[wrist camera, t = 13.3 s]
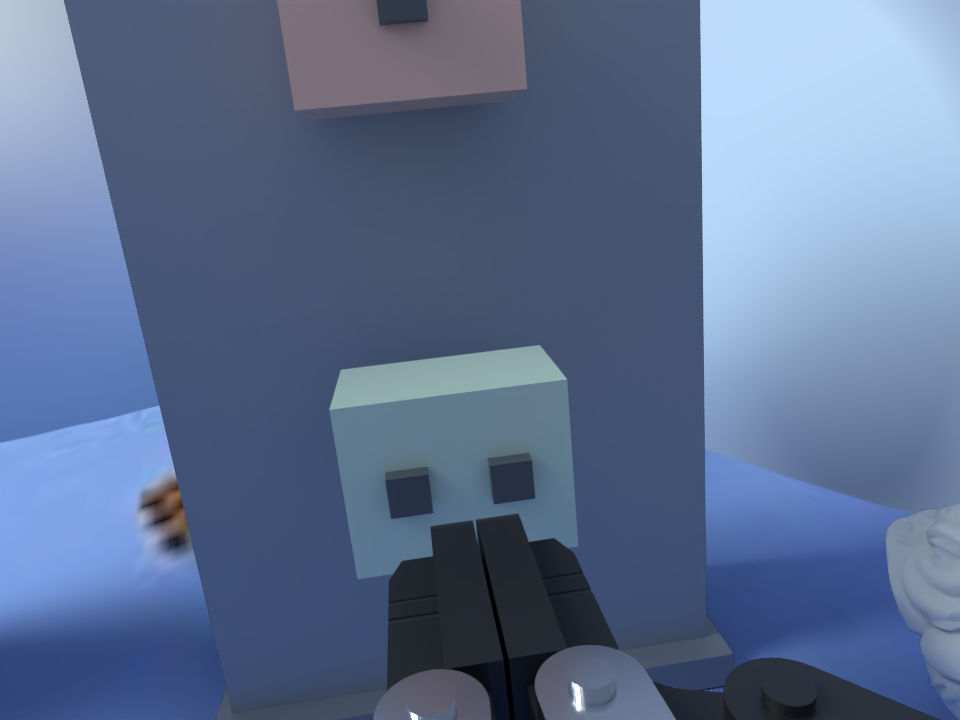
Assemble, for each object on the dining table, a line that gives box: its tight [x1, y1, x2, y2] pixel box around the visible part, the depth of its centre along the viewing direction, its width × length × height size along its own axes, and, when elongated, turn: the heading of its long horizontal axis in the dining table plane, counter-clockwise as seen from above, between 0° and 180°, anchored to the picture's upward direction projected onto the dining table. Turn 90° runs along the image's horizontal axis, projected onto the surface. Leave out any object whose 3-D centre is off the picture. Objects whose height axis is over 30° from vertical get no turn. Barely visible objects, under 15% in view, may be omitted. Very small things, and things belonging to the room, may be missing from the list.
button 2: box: [329, 345, 578, 579], centre depth 16 cm, size 3×5×4 cm
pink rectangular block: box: [277, 0, 527, 120], centre depth 16 cm, size 3×5×4 cm
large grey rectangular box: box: [64, 0, 734, 720], centre depth 23 cm, size 8×17×24 cm, turn 96°
